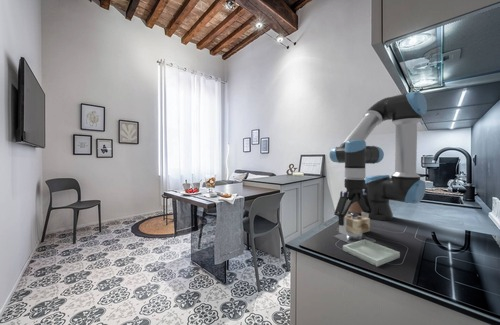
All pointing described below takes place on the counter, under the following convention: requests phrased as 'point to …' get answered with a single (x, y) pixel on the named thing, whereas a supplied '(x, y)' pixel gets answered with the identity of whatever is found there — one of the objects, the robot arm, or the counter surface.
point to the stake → (353, 237)
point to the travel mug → (355, 208)
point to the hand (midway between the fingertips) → (354, 230)
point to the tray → (371, 252)
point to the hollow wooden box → (357, 224)
